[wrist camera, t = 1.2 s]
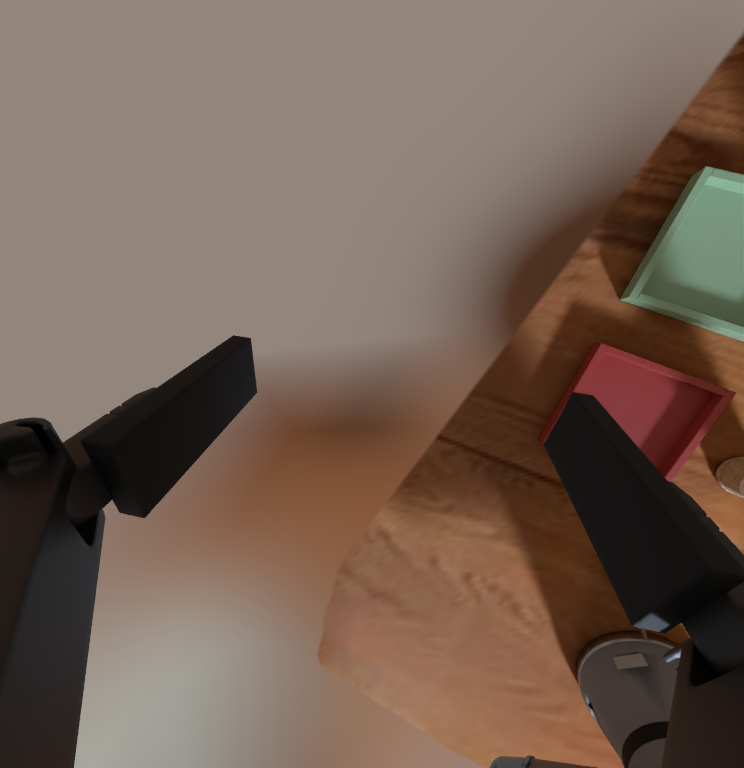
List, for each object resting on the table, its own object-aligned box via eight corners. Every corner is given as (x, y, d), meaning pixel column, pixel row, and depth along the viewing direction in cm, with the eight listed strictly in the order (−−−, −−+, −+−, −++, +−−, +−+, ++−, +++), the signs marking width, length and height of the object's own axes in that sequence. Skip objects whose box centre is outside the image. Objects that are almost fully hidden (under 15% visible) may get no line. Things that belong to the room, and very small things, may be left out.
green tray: (847, 214, 29) (875, 204, 27) (753, 344, 32) (772, 345, 30) (691, 176, 32) (706, 165, 30) (619, 299, 35) (628, 297, 33)
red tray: (720, 389, 33) (737, 392, 31) (649, 489, 37) (659, 497, 35) (594, 342, 36) (601, 342, 34) (538, 438, 40) (542, 443, 38)
